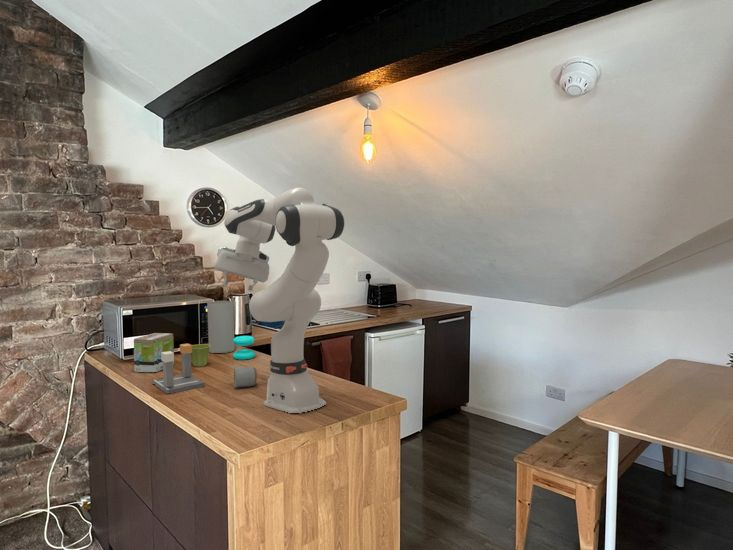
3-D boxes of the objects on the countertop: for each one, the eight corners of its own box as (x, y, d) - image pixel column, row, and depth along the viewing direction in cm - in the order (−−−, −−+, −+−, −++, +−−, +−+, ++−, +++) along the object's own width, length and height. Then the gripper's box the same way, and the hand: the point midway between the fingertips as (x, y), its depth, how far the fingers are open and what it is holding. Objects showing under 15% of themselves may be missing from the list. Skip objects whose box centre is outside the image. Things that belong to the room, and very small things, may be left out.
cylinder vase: (228, 347, 252) (226, 300, 250) (238, 351, 242) (237, 302, 241) (205, 351, 244) (203, 302, 242) (214, 355, 234) (213, 304, 233)
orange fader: (192, 376, 191) (191, 345, 190) (184, 377, 189) (183, 346, 188) (188, 373, 195) (187, 343, 194) (181, 375, 193) (179, 344, 192)
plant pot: (187, 364, 218) (186, 345, 217) (209, 361, 222) (208, 343, 221) (190, 369, 209) (189, 349, 209) (212, 366, 214) (211, 347, 213)
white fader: (175, 386, 178) (173, 353, 177) (166, 387, 176) (164, 354, 175) (171, 383, 181) (169, 351, 180) (162, 385, 179) (161, 352, 178)
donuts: (258, 336, 229) (241, 340, 221) (259, 357, 229) (242, 361, 222) (245, 334, 235) (228, 337, 227) (245, 354, 235) (229, 358, 228)
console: (204, 386, 183) (204, 382, 183) (166, 394, 174) (166, 390, 174) (187, 376, 197) (187, 373, 197) (151, 383, 188) (151, 379, 188)
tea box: (155, 373, 203) (153, 339, 202) (133, 373, 204) (132, 338, 203) (175, 364, 217) (173, 332, 216) (154, 364, 219) (153, 332, 218)
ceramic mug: (257, 387, 181) (256, 367, 181) (235, 390, 179) (234, 369, 178) (254, 380, 191) (253, 361, 191) (232, 383, 188) (232, 363, 188)
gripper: (220, 243, 179) (211, 278, 175) (273, 258, 186) (265, 292, 182) (218, 247, 184) (209, 281, 180) (269, 262, 192) (261, 295, 188)
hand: (237, 287), depth 181 cm, fingers open, 8 cm apart
